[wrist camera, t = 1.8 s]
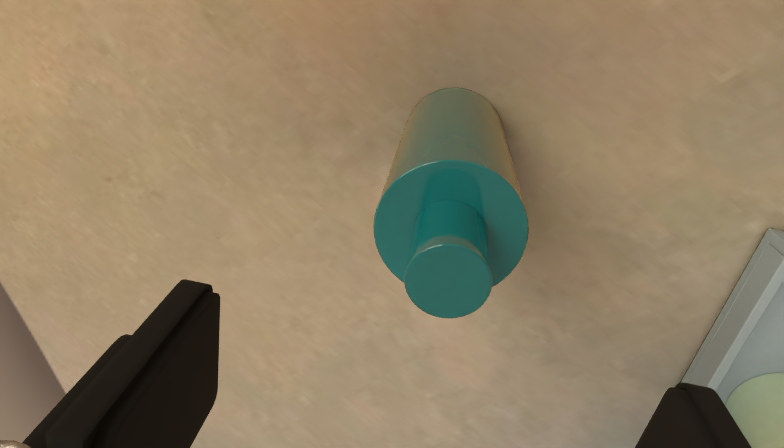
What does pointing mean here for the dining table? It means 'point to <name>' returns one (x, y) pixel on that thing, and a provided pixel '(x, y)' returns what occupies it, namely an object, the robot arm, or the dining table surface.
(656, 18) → the dining table surface
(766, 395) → the bottle
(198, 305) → the robot arm
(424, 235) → the loose bottle
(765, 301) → the tray
